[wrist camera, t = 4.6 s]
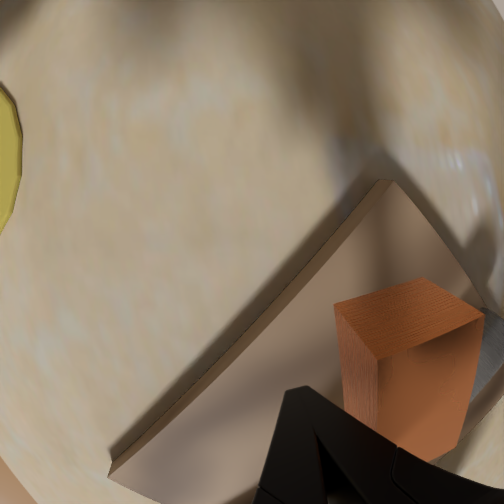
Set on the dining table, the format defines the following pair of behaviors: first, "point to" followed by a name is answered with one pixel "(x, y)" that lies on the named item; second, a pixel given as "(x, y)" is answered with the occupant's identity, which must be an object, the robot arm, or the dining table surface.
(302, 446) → the robot arm
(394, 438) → the valve lever
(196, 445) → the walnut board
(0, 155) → the candle
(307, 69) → the dining table surface
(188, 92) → the dining table surface
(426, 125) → the dining table surface
